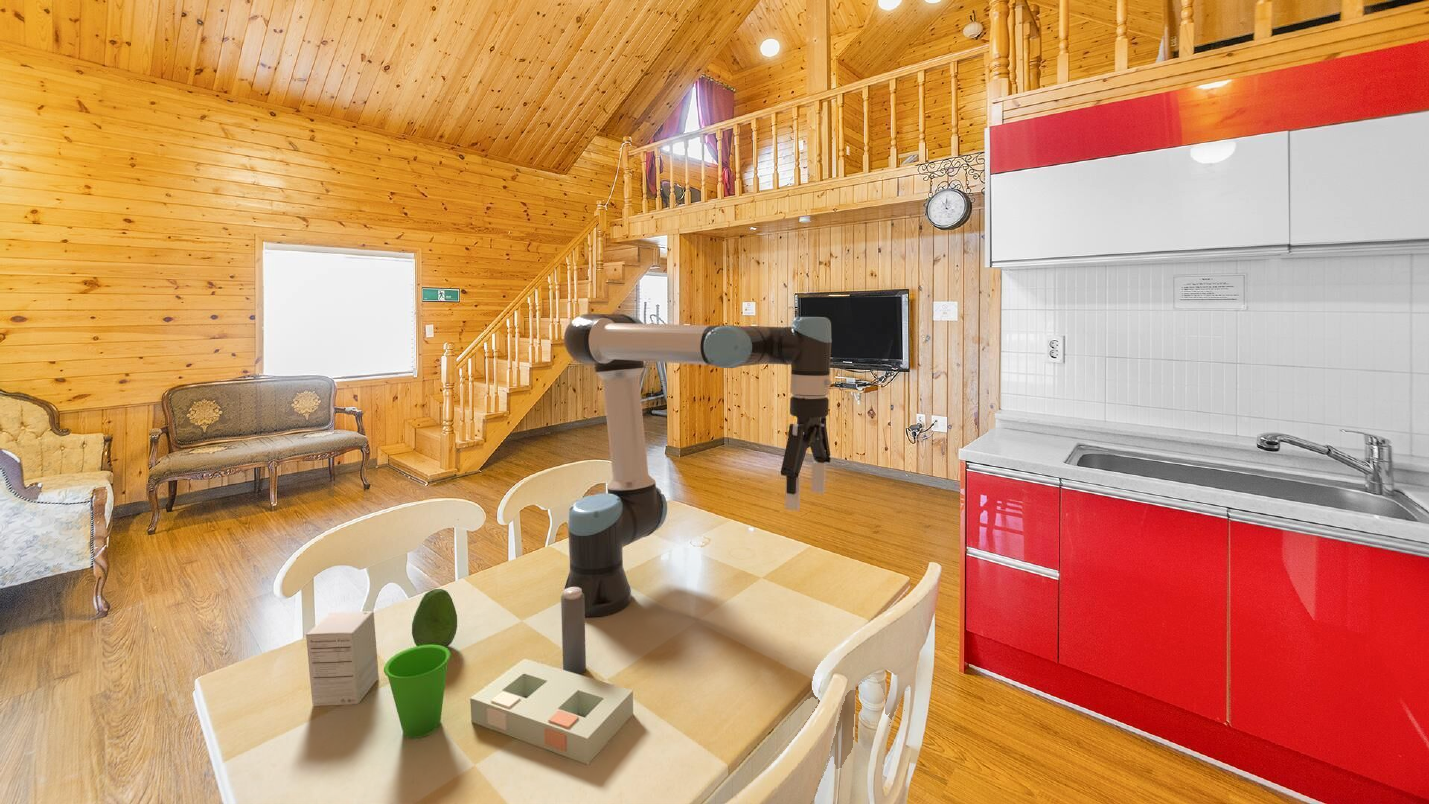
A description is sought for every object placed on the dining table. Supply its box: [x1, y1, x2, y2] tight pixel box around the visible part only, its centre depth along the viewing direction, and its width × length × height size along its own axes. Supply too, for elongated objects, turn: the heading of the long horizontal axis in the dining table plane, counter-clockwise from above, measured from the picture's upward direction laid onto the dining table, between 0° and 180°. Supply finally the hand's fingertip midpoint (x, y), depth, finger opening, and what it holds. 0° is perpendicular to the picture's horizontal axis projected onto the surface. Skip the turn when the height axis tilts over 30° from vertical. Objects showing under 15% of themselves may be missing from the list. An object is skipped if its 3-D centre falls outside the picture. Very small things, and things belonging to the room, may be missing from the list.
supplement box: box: [305, 610, 380, 707], centre depth 97 cm, size 7×7×13 cm
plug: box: [560, 587, 587, 675], centre depth 104 cm, size 4×4×15 cm
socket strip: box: [469, 658, 634, 765], centre depth 91 cm, size 22×12×4 cm, turn 66°
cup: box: [383, 645, 451, 739], centre depth 89 cm, size 9×9×11 cm
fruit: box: [411, 588, 458, 649], centre depth 110 cm, size 8×8×12 cm
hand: (805, 500), depth 117 cm, fingers open, 13 cm apart
